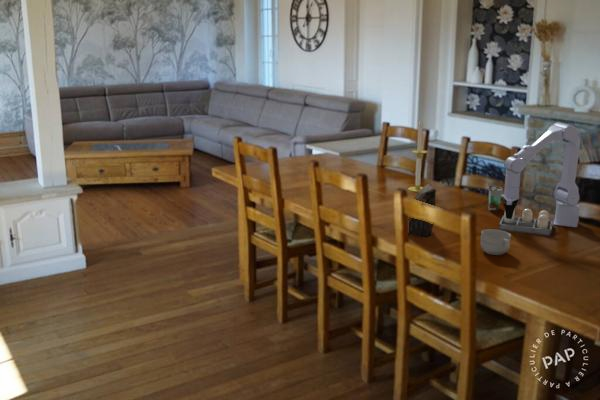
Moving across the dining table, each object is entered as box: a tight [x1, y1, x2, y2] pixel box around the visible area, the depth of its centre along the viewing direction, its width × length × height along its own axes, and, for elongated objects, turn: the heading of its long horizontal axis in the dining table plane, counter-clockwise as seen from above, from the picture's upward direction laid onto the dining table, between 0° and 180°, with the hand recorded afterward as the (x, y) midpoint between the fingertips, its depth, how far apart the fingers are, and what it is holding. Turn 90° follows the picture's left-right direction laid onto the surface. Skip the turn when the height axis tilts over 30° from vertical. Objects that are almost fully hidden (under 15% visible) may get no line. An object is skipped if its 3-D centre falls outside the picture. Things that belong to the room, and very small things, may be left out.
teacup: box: [480, 228, 512, 256], centre depth 239 cm, size 14×11×8 cm
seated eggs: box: [521, 208, 550, 229], centre depth 267 cm, size 11×11×7 cm
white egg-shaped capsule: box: [504, 208, 516, 223], centre depth 267 cm, size 4×4×7 cm
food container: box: [487, 184, 505, 212], centre depth 295 cm, size 12×6×10 cm, turn 168°
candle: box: [407, 118, 428, 193], centre depth 326 cm, size 10×10×38 cm
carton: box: [498, 214, 554, 237], centre depth 269 cm, size 20×14×2 cm
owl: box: [408, 183, 437, 239], centre depth 261 cm, size 13×13×20 cm
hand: (509, 217), depth 267 cm, fingers closed on white egg-shaped capsule, 4 cm apart
